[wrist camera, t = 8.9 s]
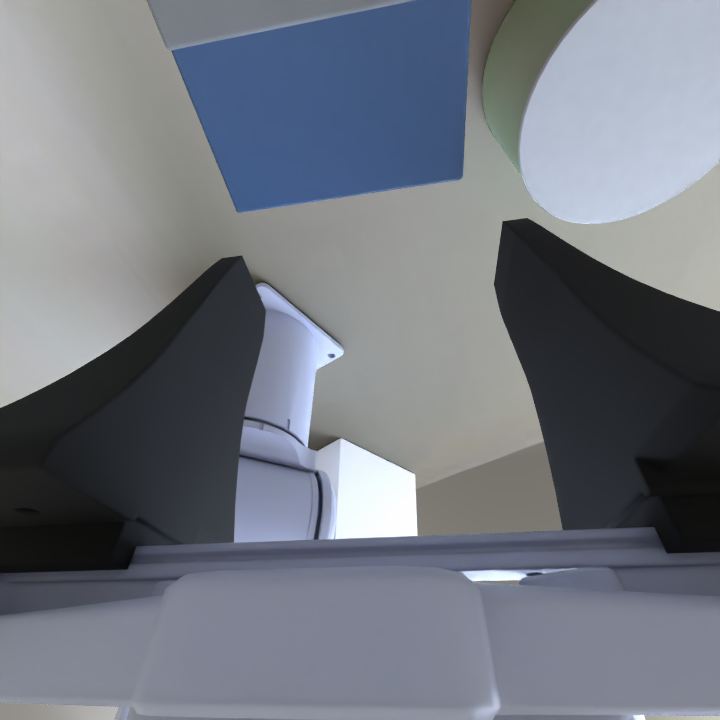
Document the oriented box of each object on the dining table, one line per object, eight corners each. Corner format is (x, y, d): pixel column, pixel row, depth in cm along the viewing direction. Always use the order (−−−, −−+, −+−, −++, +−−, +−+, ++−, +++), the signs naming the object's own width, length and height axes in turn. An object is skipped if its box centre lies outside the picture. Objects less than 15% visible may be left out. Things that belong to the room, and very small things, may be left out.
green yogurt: (517, 190, 20) (559, 258, 15) (449, 51, 15) (481, 91, 11) (681, 85, 16) (792, 134, 12) (651, -130, 12) (804, -167, 8)
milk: (344, 503, 50) (335, 803, 33) (271, 476, 44) (212, 825, 27) (414, 474, 44) (450, 829, 26) (340, 437, 38) (322, 865, 20)
